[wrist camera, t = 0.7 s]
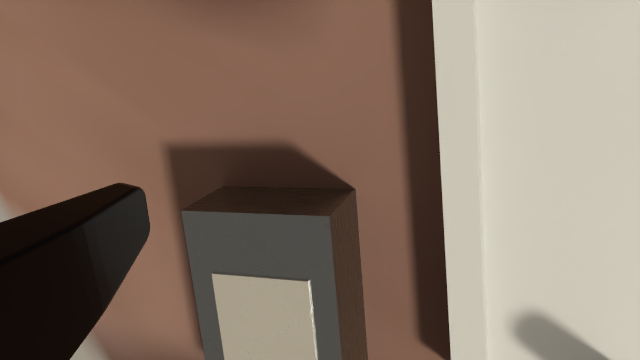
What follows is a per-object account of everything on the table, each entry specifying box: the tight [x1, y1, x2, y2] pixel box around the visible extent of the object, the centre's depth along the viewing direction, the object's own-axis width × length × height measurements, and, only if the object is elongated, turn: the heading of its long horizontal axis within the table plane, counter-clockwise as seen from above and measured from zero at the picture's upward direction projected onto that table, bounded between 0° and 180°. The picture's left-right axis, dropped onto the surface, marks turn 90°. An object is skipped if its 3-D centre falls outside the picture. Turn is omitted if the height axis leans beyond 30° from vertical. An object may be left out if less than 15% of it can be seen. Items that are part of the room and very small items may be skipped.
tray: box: [432, 0, 640, 360], centre depth 17 cm, size 16×10×4 cm
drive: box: [181, 187, 368, 360], centre depth 23 cm, size 10×6×4 cm, turn 5°
